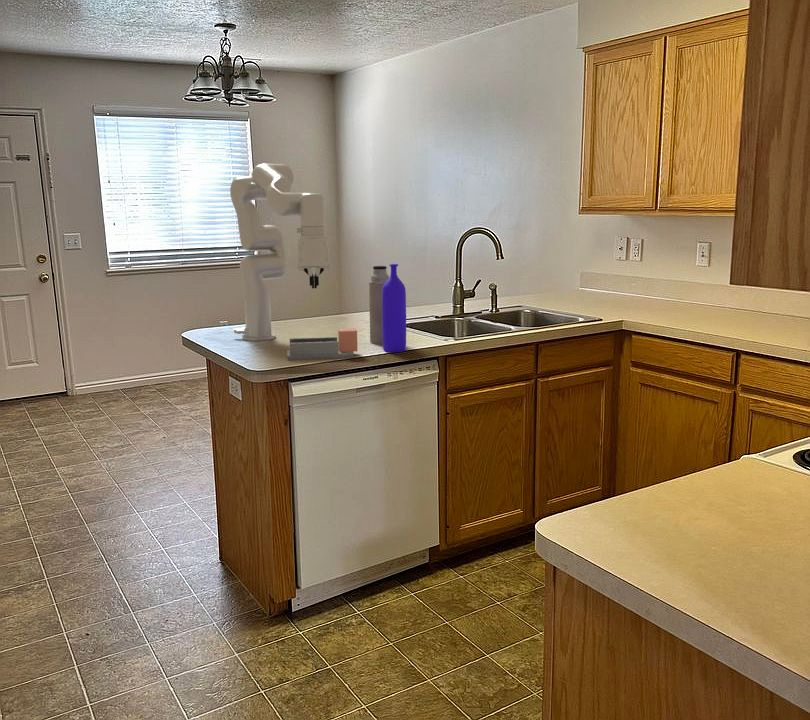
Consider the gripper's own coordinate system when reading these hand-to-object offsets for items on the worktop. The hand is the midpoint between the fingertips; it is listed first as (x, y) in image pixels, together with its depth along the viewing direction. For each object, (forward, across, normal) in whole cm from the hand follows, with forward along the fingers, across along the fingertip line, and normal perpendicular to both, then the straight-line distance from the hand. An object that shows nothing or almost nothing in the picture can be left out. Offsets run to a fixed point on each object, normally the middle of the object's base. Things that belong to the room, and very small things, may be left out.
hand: (314, 287), depth 247 cm
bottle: (+23, +27, +4) cm, 36 cm away
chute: (+23, +1, -1) cm, 23 cm away
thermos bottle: (+23, +24, +20) cm, 39 cm away
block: (+21, +11, -1) cm, 24 cm away
